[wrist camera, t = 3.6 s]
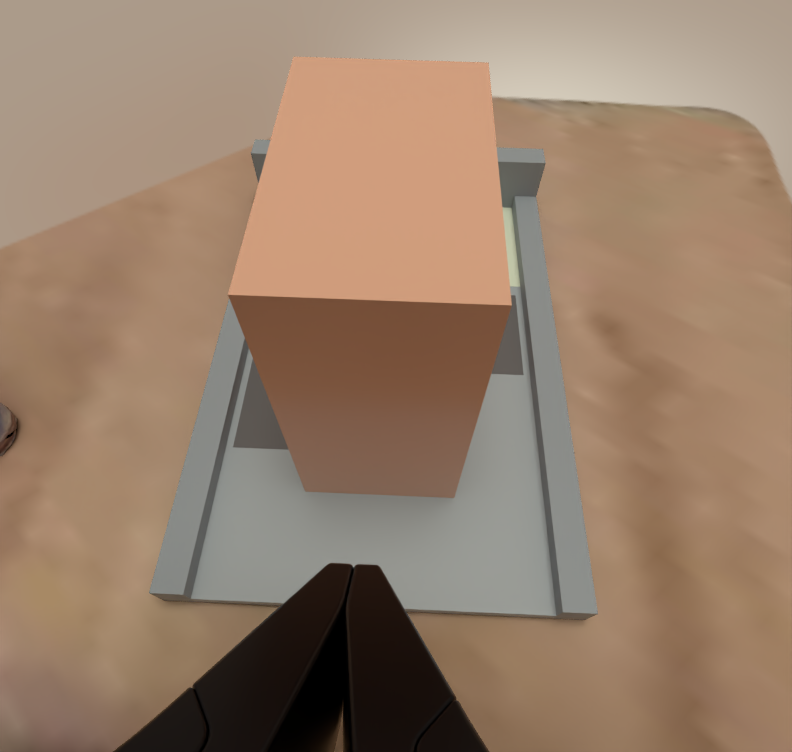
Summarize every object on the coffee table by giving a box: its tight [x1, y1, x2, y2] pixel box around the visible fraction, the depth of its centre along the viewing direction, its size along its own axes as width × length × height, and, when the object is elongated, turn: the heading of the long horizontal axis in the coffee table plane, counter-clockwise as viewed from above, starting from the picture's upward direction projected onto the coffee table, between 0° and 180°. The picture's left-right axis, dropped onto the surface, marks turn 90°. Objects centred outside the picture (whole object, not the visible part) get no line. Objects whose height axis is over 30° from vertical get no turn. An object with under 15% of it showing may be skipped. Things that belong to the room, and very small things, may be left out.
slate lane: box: [149, 140, 598, 620], centre depth 20 cm, size 19×13×3 cm
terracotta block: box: [228, 57, 512, 498], centre depth 16 cm, size 8×5×10 cm, turn 178°
